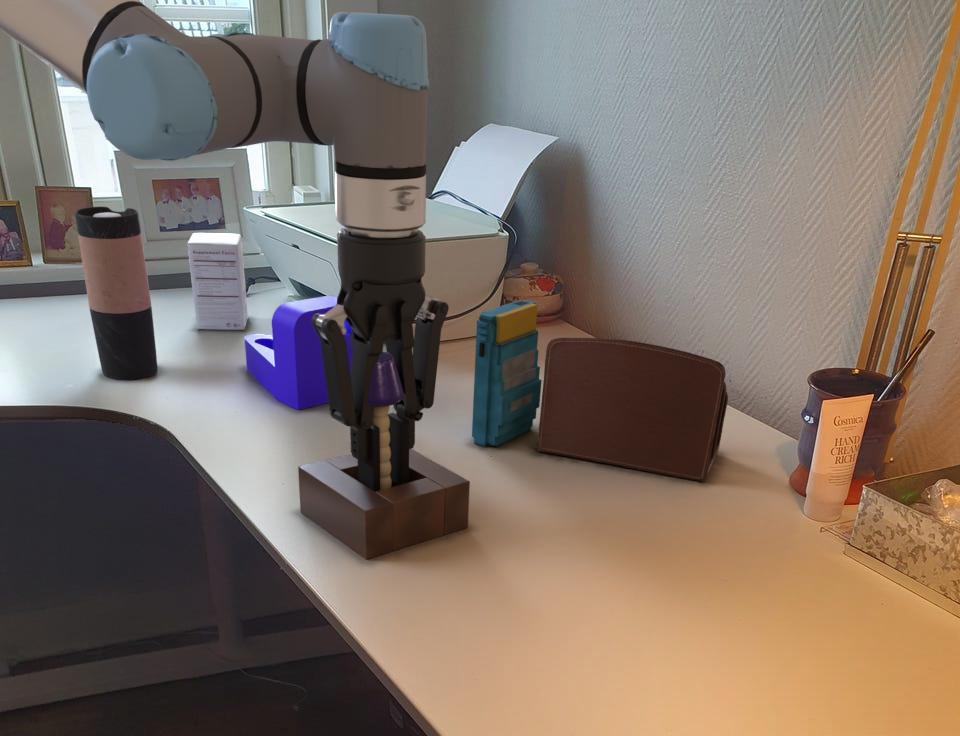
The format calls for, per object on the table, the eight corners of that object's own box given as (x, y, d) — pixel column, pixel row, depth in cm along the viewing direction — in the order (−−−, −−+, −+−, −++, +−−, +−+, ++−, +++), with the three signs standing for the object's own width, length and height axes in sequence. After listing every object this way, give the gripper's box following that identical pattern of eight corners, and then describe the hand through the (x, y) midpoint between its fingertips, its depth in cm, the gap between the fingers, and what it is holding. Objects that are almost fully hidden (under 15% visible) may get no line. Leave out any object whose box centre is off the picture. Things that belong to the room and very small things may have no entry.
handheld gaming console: (512, 421, 123) (521, 297, 115) (540, 429, 122) (551, 304, 113) (467, 442, 117) (472, 313, 108) (495, 451, 115) (503, 321, 107)
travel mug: (115, 384, 128) (89, 219, 117) (90, 368, 133) (63, 209, 122) (170, 374, 132) (149, 214, 122) (144, 359, 137) (122, 204, 126)
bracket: (366, 392, 130) (364, 300, 123) (298, 410, 123) (293, 314, 117) (285, 358, 140) (280, 272, 134) (219, 373, 134) (210, 283, 127)
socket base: (366, 559, 91) (365, 510, 89) (300, 512, 99) (297, 466, 96) (468, 527, 98) (470, 481, 95) (398, 485, 106) (398, 441, 103)
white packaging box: (201, 316, 156) (192, 231, 149) (249, 317, 157) (242, 233, 150) (195, 329, 150) (185, 242, 143) (245, 330, 151) (237, 243, 144)
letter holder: (705, 483, 110) (728, 357, 102) (535, 453, 115) (545, 331, 107) (719, 452, 118) (741, 333, 110) (559, 425, 123) (570, 309, 115)
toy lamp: (391, 535, 96) (390, 365, 87) (348, 526, 97) (343, 357, 88) (411, 515, 99) (412, 351, 90) (370, 507, 101) (366, 343, 92)
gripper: (324, 245, 77) (334, 518, 90) (481, 228, 85) (470, 480, 98) (276, 228, 82) (293, 489, 94) (429, 213, 90) (426, 455, 103)
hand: (383, 484), depth 96 cm, fingers open, 3 cm apart
